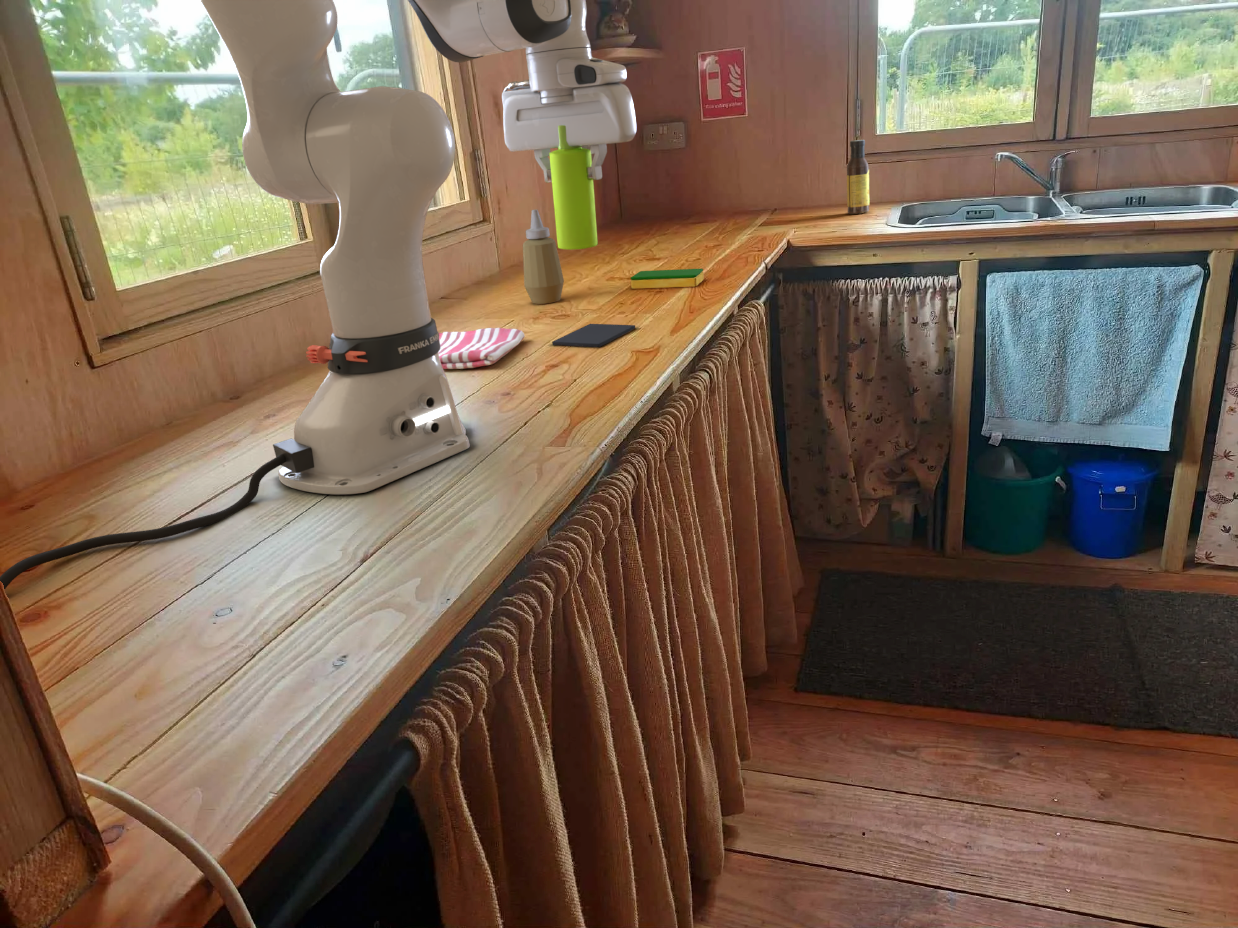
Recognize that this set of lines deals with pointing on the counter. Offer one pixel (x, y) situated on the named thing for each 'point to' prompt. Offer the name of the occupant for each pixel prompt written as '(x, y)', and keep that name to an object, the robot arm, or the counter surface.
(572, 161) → the soap dispenser
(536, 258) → the squeeze bottle
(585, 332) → the mat
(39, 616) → the counter surface
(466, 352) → the dish towel
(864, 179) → the sauce bottle
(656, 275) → the dish sponge
